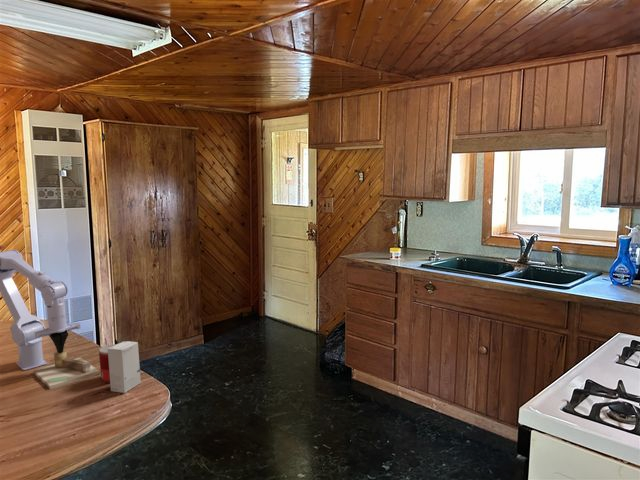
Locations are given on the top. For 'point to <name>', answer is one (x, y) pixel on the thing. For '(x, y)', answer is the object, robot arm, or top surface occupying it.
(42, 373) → the board
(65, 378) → the green tile
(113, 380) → the skincare box
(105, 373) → the canned food
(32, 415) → the top surface
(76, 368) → the friction peg
